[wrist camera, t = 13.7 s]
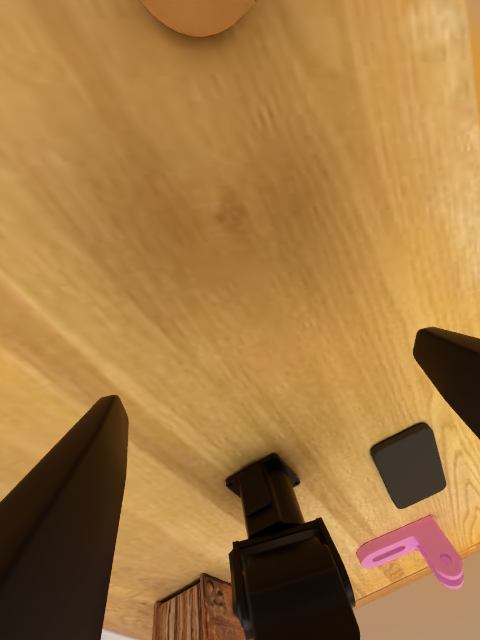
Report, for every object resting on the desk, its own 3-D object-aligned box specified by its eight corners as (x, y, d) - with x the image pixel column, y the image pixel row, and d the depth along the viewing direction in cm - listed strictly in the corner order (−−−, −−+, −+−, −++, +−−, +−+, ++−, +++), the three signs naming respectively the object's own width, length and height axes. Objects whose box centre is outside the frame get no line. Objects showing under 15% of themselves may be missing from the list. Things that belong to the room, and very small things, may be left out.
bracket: (430, 515, 44) (469, 570, 38) (433, 529, 47) (470, 583, 41) (353, 548, 45) (379, 608, 39) (360, 561, 48) (386, 618, 42)
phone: (432, 424, 32) (448, 488, 39) (426, 418, 33) (443, 482, 40) (371, 454, 33) (398, 511, 40) (367, 448, 33) (394, 505, 40)
